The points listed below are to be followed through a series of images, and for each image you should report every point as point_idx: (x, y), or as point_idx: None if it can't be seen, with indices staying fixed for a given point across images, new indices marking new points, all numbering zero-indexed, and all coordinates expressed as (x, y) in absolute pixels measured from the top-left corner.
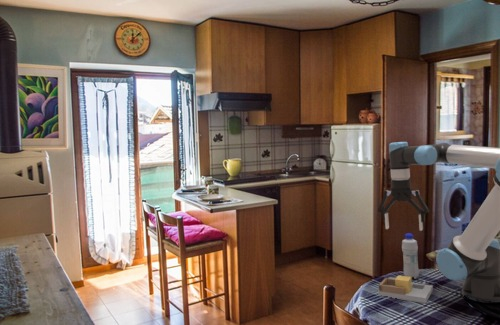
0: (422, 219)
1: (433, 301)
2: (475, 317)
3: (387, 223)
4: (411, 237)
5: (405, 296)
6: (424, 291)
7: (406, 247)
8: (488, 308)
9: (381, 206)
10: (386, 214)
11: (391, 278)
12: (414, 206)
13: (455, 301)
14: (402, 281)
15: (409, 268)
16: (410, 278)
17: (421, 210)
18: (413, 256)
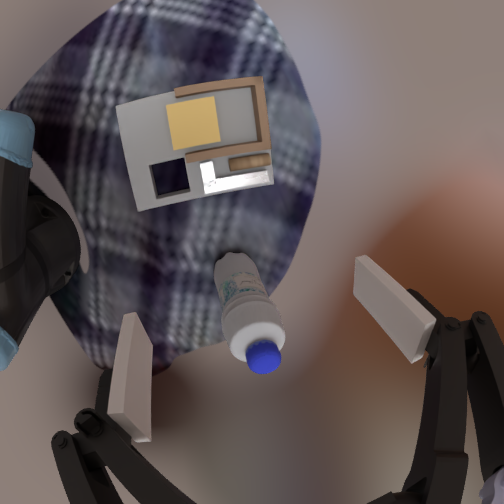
0: (109, 387)
1: (108, 132)
2: None
3: (375, 287)
4: (249, 352)
5: (174, 91)
6: (137, 151)
7: (255, 306)
8: None
9: (492, 353)
10: (422, 324)
11: (258, 173)
12: (161, 492)
13: (67, 170)
14: (187, 101)
15: (234, 265)
16: (171, 138)
17: (99, 454)
18: (227, 296)
